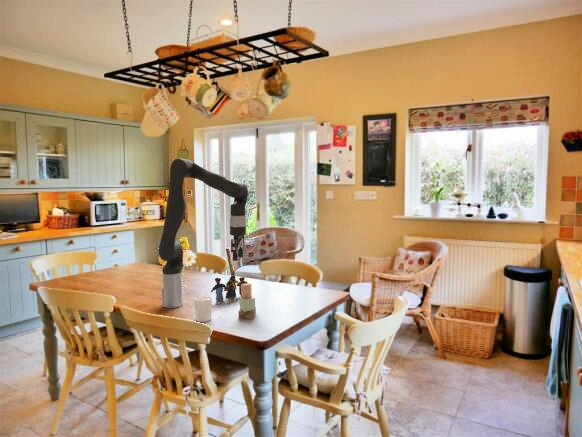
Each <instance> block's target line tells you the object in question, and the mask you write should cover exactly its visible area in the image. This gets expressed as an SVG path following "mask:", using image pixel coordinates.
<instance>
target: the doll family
mask: <svg viewBox="0 0 582 437" xmlns="http://www.w3.org/2000/svg"><path fill="white" fill-rule="evenodd" d="M245 279H246V277H244V276H241V277H239V278H238V280H237V279H236V275H230V277H229V279H228V281H227V282H226V284H224V283H221V281H222V279H221V277H216V278H214V281H215V283H216V284H215V285H214V286H213V287H212V289H211V290H210V293H213V292H214V291H215V304H216V305H220V304H223V303H225V301H224V295H223V292H226V293H225V300H227V303H229V304H230V303H232V302H236V301H237V300H236V299H237V292H236V291H237V287H238V289H239V290H238V293H239V298H240V297H241V284H245V283H248V281H246V280H245Z"/></svg>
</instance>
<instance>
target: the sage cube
mask: <svg viewBox="0 0 582 437" xmlns="http://www.w3.org/2000/svg"><path fill="white" fill-rule="evenodd" d="M255 307H256V298H255V297H254V296H252V297H251V298H247V299H244V298H241V297H240V296H239V310H240V309H241V310H243V311H244V312H245V311H251V310H255Z"/></svg>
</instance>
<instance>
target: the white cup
mask: <svg viewBox="0 0 582 437" xmlns="http://www.w3.org/2000/svg"><path fill="white" fill-rule="evenodd" d="M193 300H194V311H195V319H196V322H200V323H205V322H209V321H211V319H212V306H213V303H212V300H213V299H212V296H209V295H202V296H201V295H200V296H196V297H195V298H194V299H193Z"/></svg>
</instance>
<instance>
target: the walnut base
mask: <svg viewBox="0 0 582 437" xmlns="http://www.w3.org/2000/svg"><path fill="white" fill-rule="evenodd" d="M256 308H257V307H256V306H255V310H251V311H245V312H244V311H243V310H241V309H240V308H239V310H238V320H254V319H255V318H256V315H257V309H256Z"/></svg>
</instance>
